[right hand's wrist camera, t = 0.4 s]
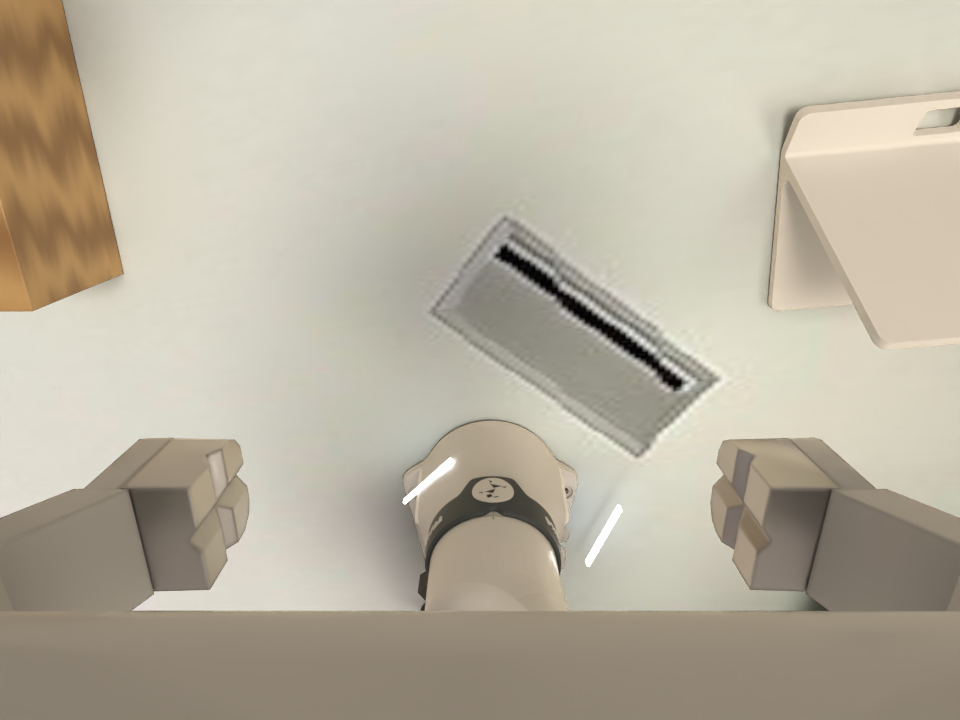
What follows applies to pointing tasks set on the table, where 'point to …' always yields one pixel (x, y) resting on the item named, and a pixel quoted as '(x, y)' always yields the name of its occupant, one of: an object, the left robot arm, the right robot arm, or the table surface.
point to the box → (47, 166)
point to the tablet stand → (872, 218)
